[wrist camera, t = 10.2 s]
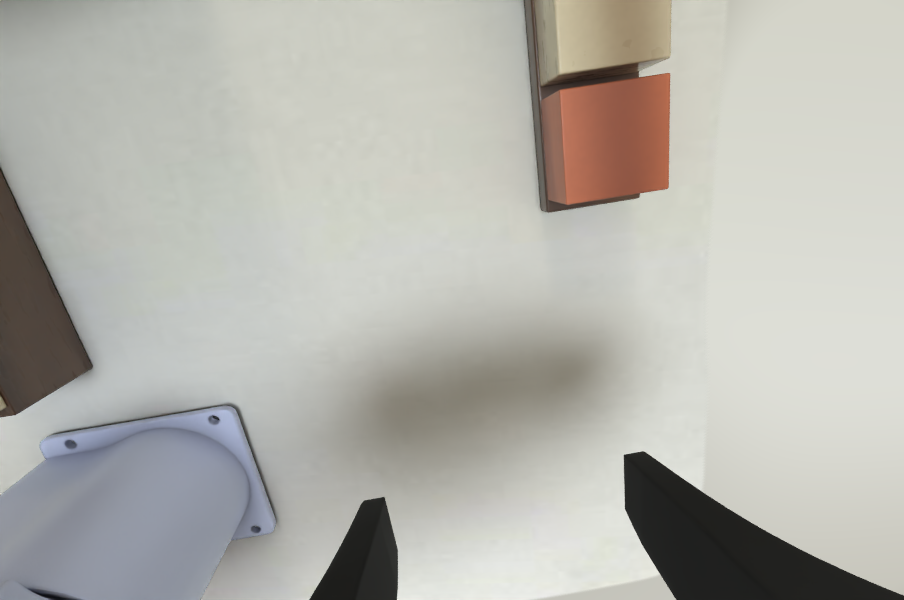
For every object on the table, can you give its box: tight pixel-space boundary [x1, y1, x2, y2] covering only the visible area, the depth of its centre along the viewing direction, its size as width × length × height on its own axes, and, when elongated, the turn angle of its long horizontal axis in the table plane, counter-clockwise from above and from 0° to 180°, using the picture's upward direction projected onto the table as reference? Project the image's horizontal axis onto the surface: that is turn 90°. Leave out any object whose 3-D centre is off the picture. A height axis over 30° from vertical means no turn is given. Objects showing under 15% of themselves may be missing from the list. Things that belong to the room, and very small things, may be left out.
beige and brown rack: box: [524, 0, 671, 213], centre depth 15 cm, size 4×14×3 cm, turn 9°
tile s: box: [541, 73, 670, 205], centre depth 16 cm, size 4×4×2 cm
